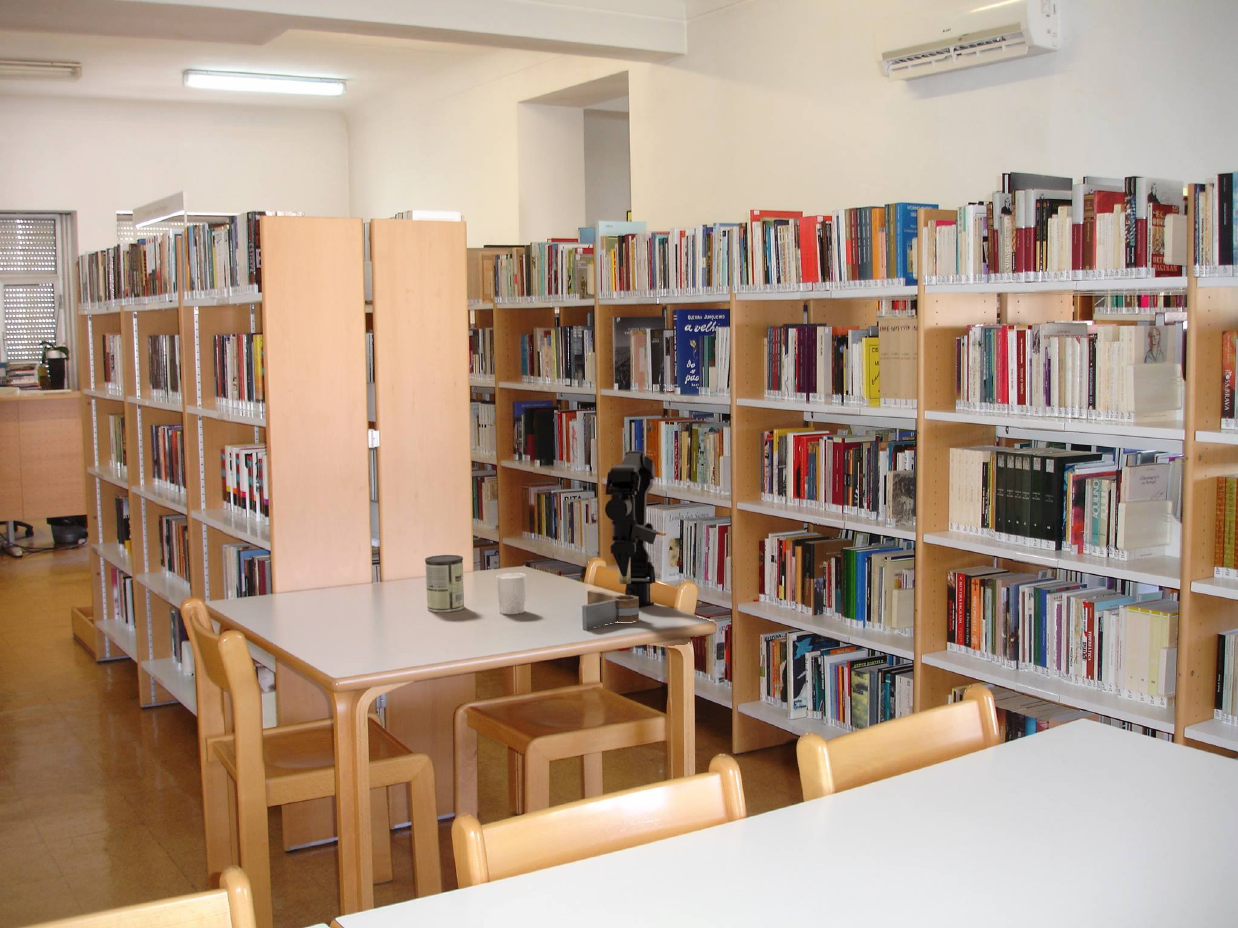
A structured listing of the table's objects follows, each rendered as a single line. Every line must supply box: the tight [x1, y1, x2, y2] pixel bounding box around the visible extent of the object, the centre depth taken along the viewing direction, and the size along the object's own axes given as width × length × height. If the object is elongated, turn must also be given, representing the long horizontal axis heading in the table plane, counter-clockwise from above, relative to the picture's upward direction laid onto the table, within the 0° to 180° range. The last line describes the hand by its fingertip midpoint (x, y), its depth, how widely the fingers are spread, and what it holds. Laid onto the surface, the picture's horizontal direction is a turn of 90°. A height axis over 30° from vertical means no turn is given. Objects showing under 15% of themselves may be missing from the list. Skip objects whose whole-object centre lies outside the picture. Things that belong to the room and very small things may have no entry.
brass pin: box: [618, 559, 631, 585], centre depth 305 cm, size 3×3×8 cm
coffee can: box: [424, 554, 465, 613], centre depth 325 cm, size 10×10×14 cm
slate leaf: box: [581, 600, 640, 630], centre depth 303 cm, size 18×7×6 cm, turn 132°
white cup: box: [496, 572, 527, 615], centre depth 319 cm, size 8×8×10 cm
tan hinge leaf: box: [586, 589, 640, 622], centre depth 310 cm, size 18×7×6 cm, turn 42°
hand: (624, 575), depth 306 cm, fingers closed on brass pin, 3 cm apart
